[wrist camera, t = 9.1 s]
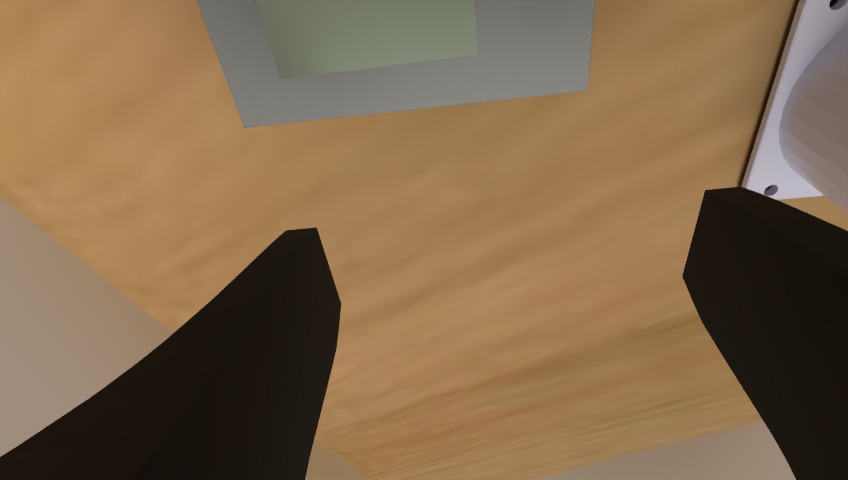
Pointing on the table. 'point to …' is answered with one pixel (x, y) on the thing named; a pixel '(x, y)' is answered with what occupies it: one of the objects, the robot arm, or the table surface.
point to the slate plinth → (409, 64)
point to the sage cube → (365, 33)
